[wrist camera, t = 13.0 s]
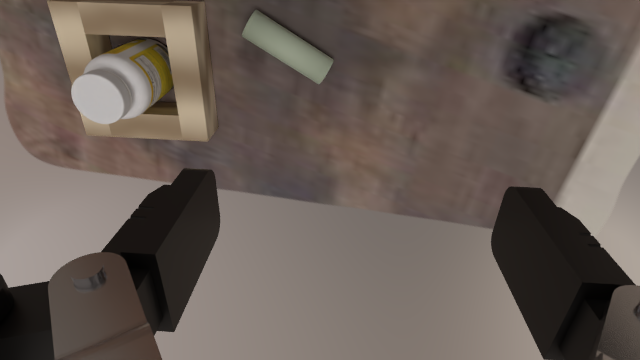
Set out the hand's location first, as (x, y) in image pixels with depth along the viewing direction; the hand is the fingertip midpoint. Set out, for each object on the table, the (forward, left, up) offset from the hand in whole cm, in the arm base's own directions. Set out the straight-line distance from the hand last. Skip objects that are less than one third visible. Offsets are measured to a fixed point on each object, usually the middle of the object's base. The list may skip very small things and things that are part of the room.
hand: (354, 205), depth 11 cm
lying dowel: (0, -5, -27) cm, 27 cm away
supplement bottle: (+4, -19, -28) cm, 34 cm away
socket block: (+4, -19, -28) cm, 34 cm away
